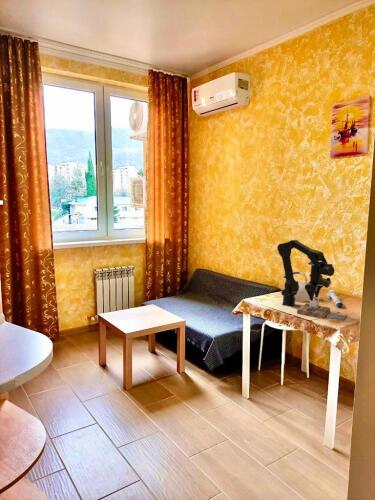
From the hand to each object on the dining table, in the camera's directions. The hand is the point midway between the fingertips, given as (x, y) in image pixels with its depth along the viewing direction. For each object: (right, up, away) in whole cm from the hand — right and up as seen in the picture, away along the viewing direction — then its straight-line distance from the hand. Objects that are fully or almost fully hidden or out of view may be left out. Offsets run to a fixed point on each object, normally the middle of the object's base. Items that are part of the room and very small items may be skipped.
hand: (314, 299), depth 210 cm
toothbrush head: (+22, -6, +23) cm, 32 cm away
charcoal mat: (+10, -9, -7) cm, 15 cm away
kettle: (+1, -4, +34) cm, 34 cm away
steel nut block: (0, -8, +1) cm, 8 cm away
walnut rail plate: (0, -8, +1) cm, 8 cm away
